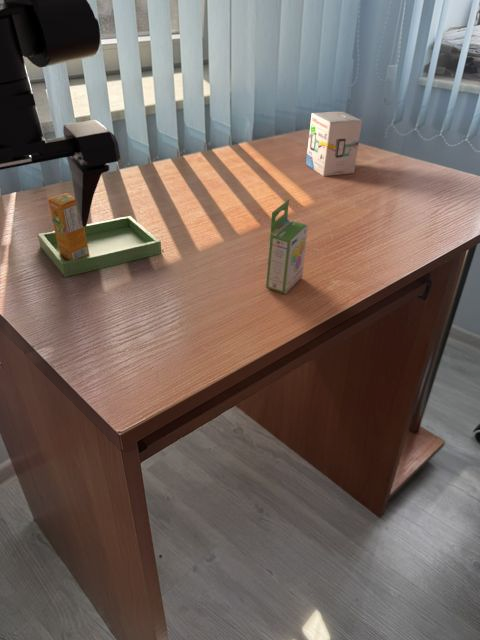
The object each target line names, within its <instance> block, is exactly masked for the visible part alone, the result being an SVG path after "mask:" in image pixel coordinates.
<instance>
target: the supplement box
mask: <svg viewBox="0 0 480 640" xmlns="http://www.w3.org/2000/svg"><path fill="white" fill-rule="evenodd" d="M47 202H48V205H49V211H50V214H51V219H52V224H53V229H54V231H55V234H56V239H57V243H58V247H59V252H60V255H61V256H62V258H63V259H64V260H65V261H70V260H74V259H78V258H83V257H87V256H90V255H89V250H88V244H87V239H86V234H85V229H84V227H83V226H82V225H81V223H80V220H79V217H78V213H77V209H76V202H75V196H73V195H71V194H69V193H67V192H64V193H61V194H58V195H54V196H52V197H50V198H48V199H47Z"/></svg>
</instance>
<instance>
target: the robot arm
mask: <svg viewBox="0 0 480 640" xmlns="http://www.w3.org/2000/svg"><path fill="white" fill-rule="evenodd" d="M100 45H101V29H100V23H99V20H98V18H97V17H96V15H95V13H94V11H93V9H92V7H91V4H90V3H89V2H88V0H3V2H0V171H1V170H8V169H12V168H17V167H18V168H19V167H22V166H28V165H34V164H37V163H38V164H39V163H42V162H43V163H44V162H48V161H53V160H59V159H64V158H66V160H67V163H68V167H69V169H70V170H69V171H70V174H71V180H72V187H73V194H74V197H75V202H76V209H77V213H78V217H79V220H80V223H81V225H82V226H83V227H84V226H87V224H88V221H89V217H90V212H91V208H92V204H93V200H94V195H95V192H96V190H97V187H98V184H99V182H100V180H101V176H102V174H104V173H107V172H109V171H110V164H112V163H113V164H114V163H117V162H119V161H120V160H121V153H120V147H119V143H118V140H117V137H116V135H115V134H114V133H113V132H112V131H110V130H109V129H108V128H106V127H105V126H104V125H103V124H101V122H99V121H98V120H96V119H92V120H91V119H90V120H84V121H79V122H71V123H67V124H63V128H62V129H63V130H62V131H63V136H59V137H53V138H47V139H46V138H45V135H44V131H43V127H42V124H41V119H40V115H39V111H38V108H37V104H36V101H35V97H34V93H33V89H32V86H31V82H30V78H29V74H28V71H27V66H26V62H25V59H24V58H26V59H27V60H28V61H29V62H30V63H31V64H32V65H34V66H36V67H38V68H45V67H46V68H47V67H51V66H55V65H59V64H64V63H68V62H72V61H78V60H83V59H86V58H87V59H88V58H92V57H94V56H95V55H97V53H98V51H99V49H100Z"/></svg>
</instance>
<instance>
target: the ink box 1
mask: <svg viewBox="0 0 480 640" xmlns="http://www.w3.org/2000/svg"><path fill="white" fill-rule="evenodd" d="M289 205H290V199H287V200H286V201H285V202H284V203H282V204H281V205H280V206H278V207H277V208H276V209H274V210H273V211H272V212H271V219H270V233H269V238H268V239H269V242H268V243H269V246H268V255H267V268H266V278H265V279H266V280H265V288H266V289H269V290H272V291H274V292H278V293H280V294H283V295H286V294H288V292H289V291H291V289H292V288H293V287H295V285H296V284H297V283H298V282H299V281H300V280H301V279H302V278H303V273H304V265H305V255H306V247H307V238H308V231H309V230H308V229H309V226H308V224H306V223H302V222H298V221H294V220H291V219H288V217H289V216H288V215H289ZM282 211H284V212H283V214H282V215H281V216H280V217H278V215H279V214H280V213H281V212H282ZM277 217H278V218H277ZM276 218H277V219H276Z"/></svg>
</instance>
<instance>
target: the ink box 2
mask: <svg viewBox="0 0 480 640" xmlns="http://www.w3.org/2000/svg"><path fill="white" fill-rule="evenodd" d="M362 125H363V120H362V119H360V118H358V117H356V116H354V115H352V114H349V113H347V112H345V111H342V110H341V111H327V112H311V115H310V126H309V134H308V141H307V142H308V143H307V151H306V161H305V165H306V166H308V167H309V168H311V169H312V170H313V171H314V172H316V173H318V174H319V175H321V176H322V177H328V176H339V175H347V174H348V175H349V174H354V173H355V168H356V163H357V156H358V151H359V143H360V137H361V133H362V132H361V131H362Z"/></svg>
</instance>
